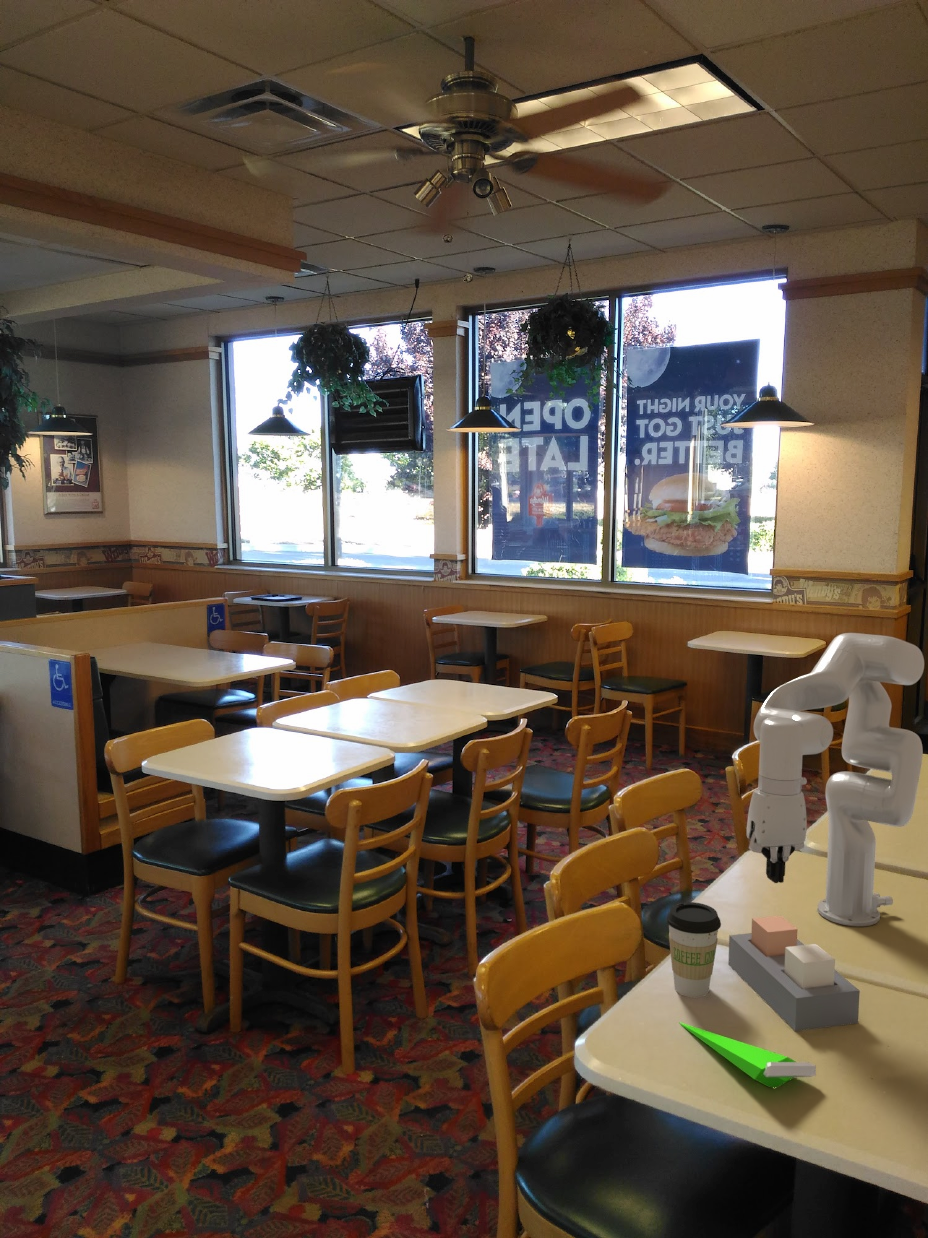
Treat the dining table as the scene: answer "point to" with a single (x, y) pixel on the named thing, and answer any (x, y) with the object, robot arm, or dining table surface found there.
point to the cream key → (809, 966)
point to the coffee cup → (692, 946)
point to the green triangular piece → (756, 1059)
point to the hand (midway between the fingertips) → (775, 880)
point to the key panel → (793, 989)
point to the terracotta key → (773, 935)
